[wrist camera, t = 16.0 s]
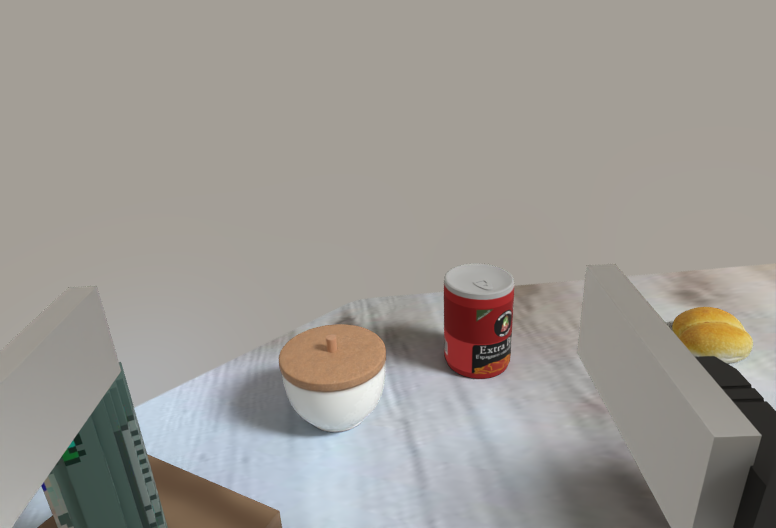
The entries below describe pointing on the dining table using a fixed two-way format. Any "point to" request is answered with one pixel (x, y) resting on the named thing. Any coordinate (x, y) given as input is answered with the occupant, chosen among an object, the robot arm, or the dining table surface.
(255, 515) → the walnut base
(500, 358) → the canned food
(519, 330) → the dining table surface
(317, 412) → the lidded jar
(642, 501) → the dining table surface
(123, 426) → the can
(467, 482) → the dining table surface
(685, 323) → the bread roll
